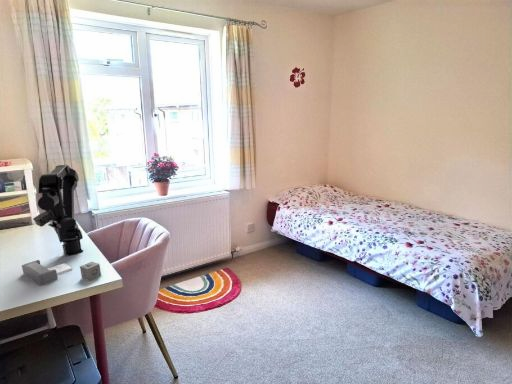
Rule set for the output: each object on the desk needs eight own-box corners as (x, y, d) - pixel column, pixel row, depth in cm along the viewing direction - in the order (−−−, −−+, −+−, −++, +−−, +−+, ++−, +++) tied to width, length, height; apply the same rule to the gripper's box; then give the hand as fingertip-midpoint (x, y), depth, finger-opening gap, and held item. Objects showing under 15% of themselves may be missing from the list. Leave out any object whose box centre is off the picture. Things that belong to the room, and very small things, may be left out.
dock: (40, 268, 144) (38, 259, 143) (57, 279, 133) (56, 270, 132) (23, 274, 139) (21, 265, 138) (40, 286, 129) (38, 276, 128)
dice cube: (81, 278, 134) (79, 266, 133) (93, 273, 138) (91, 261, 137) (89, 281, 131) (87, 268, 130) (101, 275, 135) (99, 263, 134)
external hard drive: (31, 277, 137) (64, 266, 147) (39, 283, 132) (72, 270, 142) (30, 273, 137) (63, 262, 146) (38, 279, 132) (72, 267, 141)
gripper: (24, 205, 141) (31, 241, 144) (44, 212, 130) (51, 250, 134) (52, 199, 150) (58, 233, 153) (74, 205, 139) (80, 241, 142)
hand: (61, 239), depth 145 cm, fingers closed
